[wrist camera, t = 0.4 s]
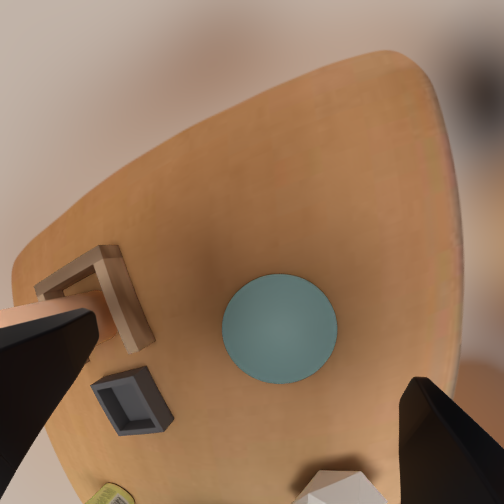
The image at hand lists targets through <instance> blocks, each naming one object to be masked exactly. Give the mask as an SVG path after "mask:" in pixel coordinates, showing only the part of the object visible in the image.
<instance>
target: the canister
mask: <svg viewBox="0 0 504 504" xmlns="http://www.w3.org/2000/svg"><path fill="white" fill-rule="evenodd" d="M79 308H86V309H89V310H92V311H93V312H94V313H95V314H96V318H97V324H98V329H99V340H98V342H97V344H96V345H99V344H101V343H103V342H105V341H107V340H109V339H111V338H113V337H114V336H115V334H116V333H117V331H118V330H117V327H116V325H115V322H114V320H113V317H112V315H111V312H110V310H109V307H108V305H107V302H106V299H105V297H104V294H103V292H101V291H98V290H94V291H89V292H84V293H80V294H75V295H70V296H65V297H61V298H56V299H51V300H46V301H41V302H36V303H32V304H27V305H22V306H17V307H13V308H8V309H3V310H0V328H3V327H7V326H11V325H15V324H19V323H23V322H27V321H31V320H35V319H39V318H43V317H47V316H51V315H55V314H59V313H63V312H67V311H71V310H75V309H79Z"/></svg>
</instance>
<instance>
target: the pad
mask: <svg viewBox="0 0 504 504" xmlns="http://www.w3.org/2000/svg"><path fill="white" fill-rule="evenodd" d="M222 336H223V341H224V344H225V347H226V350H227V352H228V354H229V356H230V357H231V359H232V360H233V362H234V363H235V364H236V365H237V366H238V367H239V368H240V369H241V370H242V371H244V372H245V373H246V374H248V375H249V376H251V377H253V378H255V379H258V380H260V381H264V382H268V383H274V384H285V383H292V382H296V381H299V380H302V379H305V378H307V377H308V376H310V375H312V374H313V373H315V372H316V371H317V370H319V369H320V368H321V367H322V366H323V365H324V363H325V362H326V361H327V360H328V358H329V357H330V355H331V353H332V351H333V349H334V346H335V343H336V338H337V320H336V316H335V312H334V310H333V308H332V305H331V304H330V302H329V300H328V299H327V297H326V296H325V295H324V293H323V292H322V291H321V290H320V289H319V288H318V287H316V286H315V285H314V284H312V283H311V282H309V281H307V280H305V279H303V278H300V277H298V276H294V275H289V274H271V275H266V276H262V277H259V278H257V279H255V280H253V281H251V282H249V283H248V284H246V285H245V286H244V287H242V288H241V289H240V290H239V291H238V292H237V293H236V294H235V295H234V296H233V298H232V299H231V300H230V302H229V304H228V306H227V308H226V310H225V313H224V317H223V322H222Z"/></svg>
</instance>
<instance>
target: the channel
mask: <svg viewBox="0 0 504 504" xmlns="http://www.w3.org/2000/svg"><path fill="white" fill-rule="evenodd" d="M94 272H96V274H97V277H98V280H99V283H100V286H101V288H102V291H103V294H104V297H105V299H106V302H107V305H108V307H109V310H110V312H111V315H112V317H113V320H114V322H115V325H116V327H117V330H118V332H119V334H120V337H121V339H122V341H123V343H124V346H125V348H126V350H127V352H128V354H132V353H135V352H138V351H140V350H142V349H143V348H145V347H147V346H148V345H150V344H151V343H153V342H154V341H155V339H154V337H153V334H152V332H151V330H150V327H149V325H148V323H147V320H146V318H145V316H144V313H143V311H142V308H141V306H140V303H139V301H138V298H137V296H136V293H135V291H134V288H133V285H132V283H131V280H130V277H129V275H128V272H127V269H126V266H125V263H124V261H123V258H122V255H121V252H120V249H119V246H118V245H98V246H96V247H95V248H93V249H91V250H90V251H88V252H86V253H85V254H83V255H81V256H80V257H78V258H76V259H75V260H73V261H72V262H70V263H68V264H67V265H65V266H64V267H62V268H61V269H59V270H57V271H56V272H54V273H53V274H51V275H50V276H48V277H47V278H45V279H44V280H42V281H41V282H39V283H38V284H36V285H35V286H34V288H35V292H36V295H37V298H38V302H41V301H46V300H51V299H56V298H61V297H64V294H63V291H62V290H63V289H65V288H67V287H69V286H71V285H72V284H74V283H76V282H78V281H80V280H81V279H83V278H85V277H87V276H89V275H90V274H92V273H94ZM89 361H90V360H89V358H88V359H87V361H86V363H87V362H89Z"/></svg>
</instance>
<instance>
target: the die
mask: <svg viewBox="0 0 504 504" xmlns="http://www.w3.org/2000/svg"><path fill="white" fill-rule="evenodd" d="M387 502H388V501H387V500H386V499H385V498H384V497H383V496H382V495H381V493H380V492H379V491H378V490H377V489H376V488H375V487H374V486H373V484H372V483H371V482H370V481H369V480H368V479H367V478H366V476H365V475H364V474H363V473H362V472H361V471H329V470H319V471H318V472H317V473H316V475H315V476H314V477H313V478H312V480H311V481H310V482H309V483H308V485H307V486H306V487H305V488H304V489H303V491H302V492H301V493H300V494H299V495H298V497H297V498H296V499H295V500H294V501H293V502H292V503H291V504H387Z"/></svg>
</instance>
